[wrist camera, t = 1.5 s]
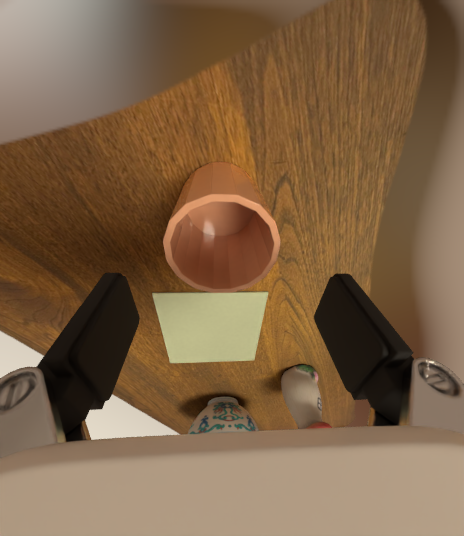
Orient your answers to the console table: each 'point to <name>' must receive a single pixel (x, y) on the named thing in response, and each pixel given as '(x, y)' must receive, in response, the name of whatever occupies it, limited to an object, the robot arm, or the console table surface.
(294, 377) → the decorative ornament
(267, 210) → the cup
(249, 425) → the chinaware
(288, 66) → the console table surface
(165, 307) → the mat
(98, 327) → the robot arm
